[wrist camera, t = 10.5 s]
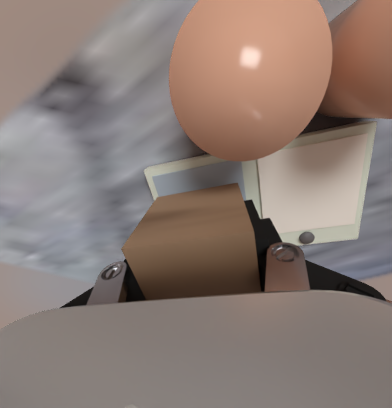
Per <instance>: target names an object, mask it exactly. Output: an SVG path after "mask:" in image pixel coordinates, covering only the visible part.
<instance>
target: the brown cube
mask: <svg viewBox="0 0 392 408" xmlns="http://www.w3.org/2000/svg"><path fill="white" fill-rule="evenodd" d="M121 250H122V252H123V254H124V256H125V258H126V260H127V262H128V264H129V266H130V268H131V270H132V272H133V274H134V276H135V278H136V280H137V282H138V284H139V286H140V288H141V290H142V292H143V294H144V296H145V298H146V300H157V299H170V298H183V297H197V296H211V295H225V294H240V293H254V292H261V286H260V278H259V269H258V261H257V252H256V243H255V235H254V230H253V227H252V224H251V221H250V218H249V215H248V212H247V209H246V206H245V203H244V200H243V197H242V194H241V191H240V188H239V185H238V183H232V184H227V185H221V186H216V187H210V188H205V189H199V190H194V191H188V192H183V193H177V194H172V195H166V196H161V197H157V198H156V200H155V201H154V203H153V204H152V205H151V207H150V208H149V210H148V211H147V213H146V214H145V215H144V217H143V218H142V220H141V221H140V223H139V224H138V226H137V227H136V228H135V230H134V231H133V233H132V234H131V236H130V237H129V239H128V240H127V241H126V243H125V244H124V246H123V247H122V249H121Z"/></svg>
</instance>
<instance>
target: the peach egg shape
mask: <svg viewBox="0 0 392 408" xmlns="http://www.w3.org/2000/svg"><path fill="white" fill-rule="evenodd" d="M328 24H329V28H330V32H331V39H332V66H331V74H330V78H329V82H328V86H327V89H326V92H325V95H324V97H323V100H322V102H321V104H320V106H319V108H318V110H317V112H318V113H320V114H322V115H325V116H329V117H348V118H383V119H392V0H357V1H356V2H354V3H353V4H352V5H351V6H349V7H348V8H347V9H346V10H344V11H343V12H342V13H340V14H339V15H338V16H337V17H335V18H334V19H333V20H332V21H331V22H330V23H328Z"/></svg>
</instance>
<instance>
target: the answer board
mask: <svg viewBox="0 0 392 408" xmlns="http://www.w3.org/2000/svg"><path fill="white" fill-rule="evenodd" d="M376 125H377V121H361V122H356V123H352V124H347V125H342V126H338V127H333V128H328V129H324V130H319V131H314V132H309V133H305V134H300V135H298V136H297V137H296V138H295V139H294V140H293V141H291V142H290V143H289V144H288V145H286V146H285V147H283V148H282V149H280V150H278V151H277V152H275V153H273V154H271V155H268V156H266V157H263V158H260V159H256V160H251V161H229V160H224V159H220V158H217V157H215V156H213V155H210V154H206V155H201V156H197V157H192V158H187V159H183V160H178V161H173V162H169V163H164V164H159V165H154V166H150V167H148V168H146V169H145V170H144V173H145V176H146V178H147V181H148V184H149V187H150V190H151V193H152V195H153V198H154V201H155V200H156V198H157V197H161V196H166V195H172V194H177V193H183V192H188V191H194V190H199V189H205V188H210V187H216V186H221V185H227V184H232V183H238V185H239V188H240V191H241V194H242V197H243V200H244V201H245V200H251V199H252V201H253V203H254V205H255V208H256V210H257V212H258V215H259V217H260V219H264V218H270V219H271V221H272V223H273V225H274V227H275V228H276V230H277V232H278V234H279V236H280V238H281V240H282V242H286V243H291V244H294V245H296V246H298V245H307V244H316V243H324V242H333V241H342V240H351V239H358V234H359V228H360V222H361V216H362V210H363V204H364V197H365V191H366V185H367V179H368V173H369V167H370V161H371V155H372V149H373V143H374V137H375V131H376Z"/></svg>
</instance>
